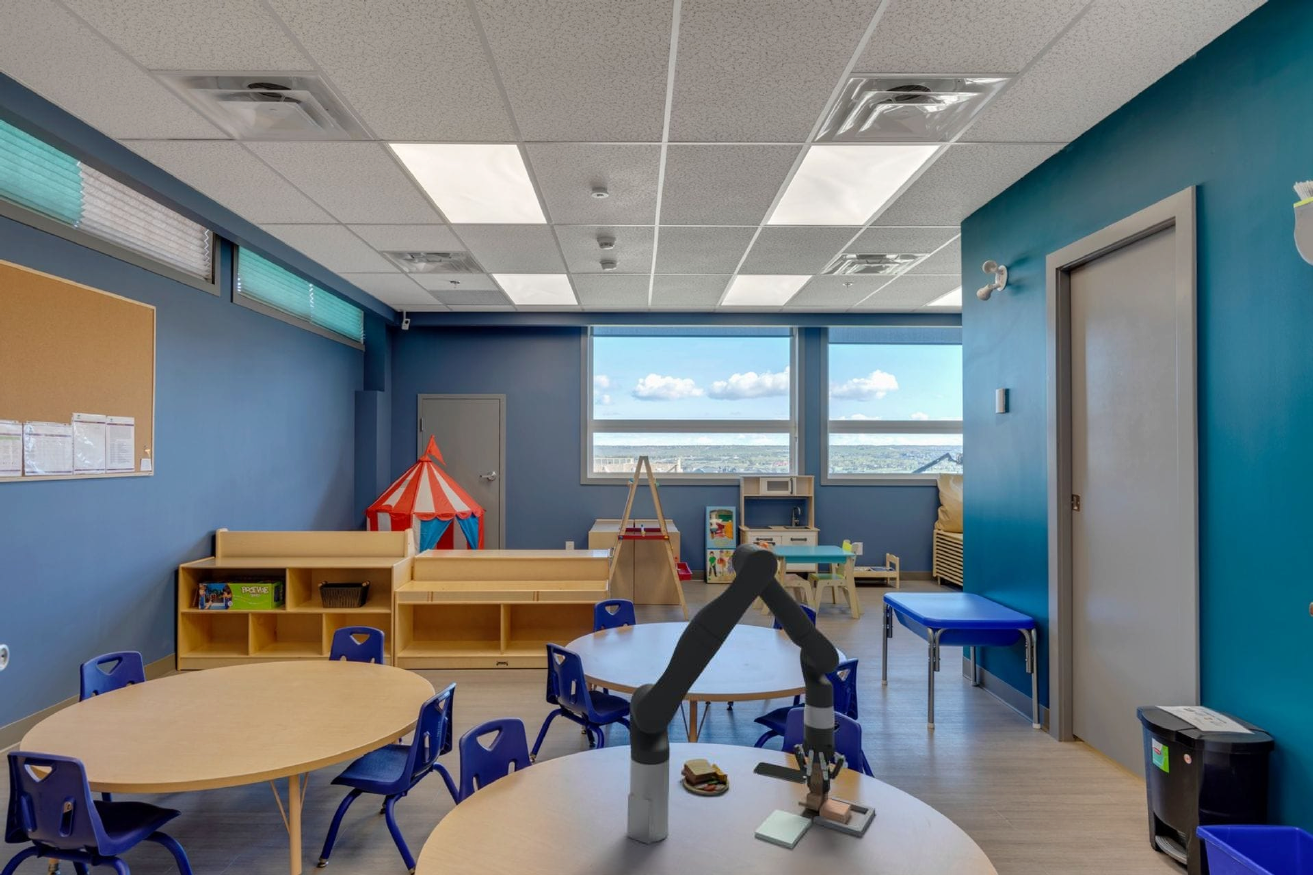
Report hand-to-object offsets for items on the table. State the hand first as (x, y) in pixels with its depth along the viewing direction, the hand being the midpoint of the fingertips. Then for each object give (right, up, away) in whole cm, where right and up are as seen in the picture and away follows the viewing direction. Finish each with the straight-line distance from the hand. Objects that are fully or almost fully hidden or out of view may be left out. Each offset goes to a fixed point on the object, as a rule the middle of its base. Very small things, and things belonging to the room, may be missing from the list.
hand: (818, 790), depth 169 cm
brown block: (-1, -3, -1) cm, 3 cm away
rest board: (-11, -4, -10) cm, 15 cm away
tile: (+3, -5, -3) cm, 7 cm away
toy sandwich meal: (-28, -5, +13) cm, 31 cm away
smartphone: (-6, -6, +21) cm, 22 cm away
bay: (+5, -5, -4) cm, 8 cm away
